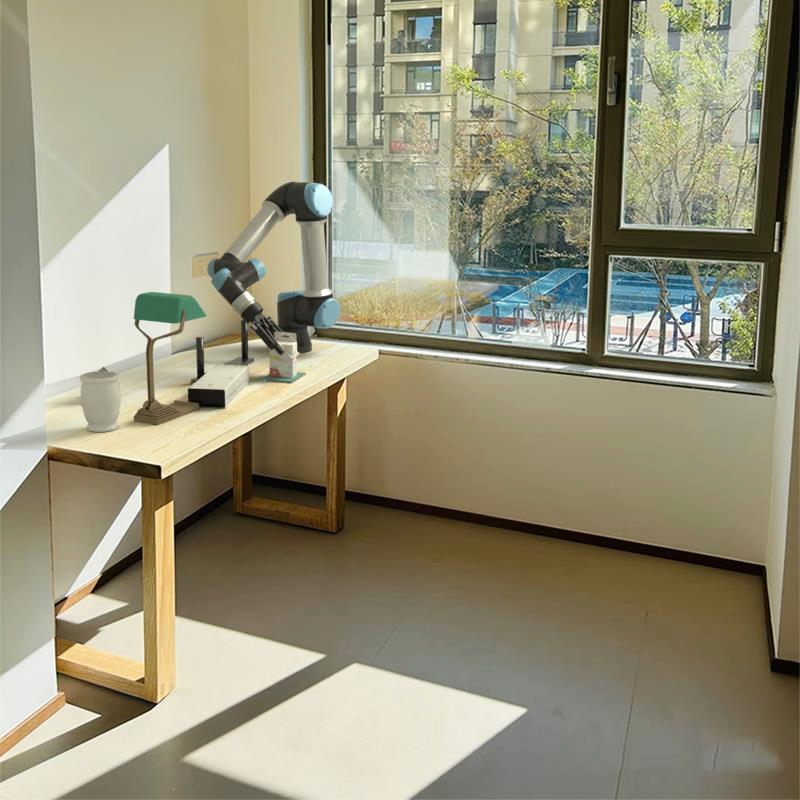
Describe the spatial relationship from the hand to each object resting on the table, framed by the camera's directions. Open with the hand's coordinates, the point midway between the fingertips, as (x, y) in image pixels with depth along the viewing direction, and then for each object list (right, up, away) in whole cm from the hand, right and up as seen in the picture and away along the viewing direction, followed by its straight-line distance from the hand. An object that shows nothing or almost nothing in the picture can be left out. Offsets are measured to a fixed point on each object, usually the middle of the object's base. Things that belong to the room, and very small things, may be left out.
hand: (293, 358), depth 315 cm
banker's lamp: (-31, -18, -46) cm, 59 cm away
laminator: (-21, -13, -22) cm, 33 cm away
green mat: (-4, -6, +3) cm, 8 cm away
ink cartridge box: (-4, -6, +2) cm, 7 cm away
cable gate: (-25, -4, +8) cm, 27 cm away
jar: (-45, -22, -61) cm, 79 cm away
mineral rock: (-54, -14, -29) cm, 63 cm away
